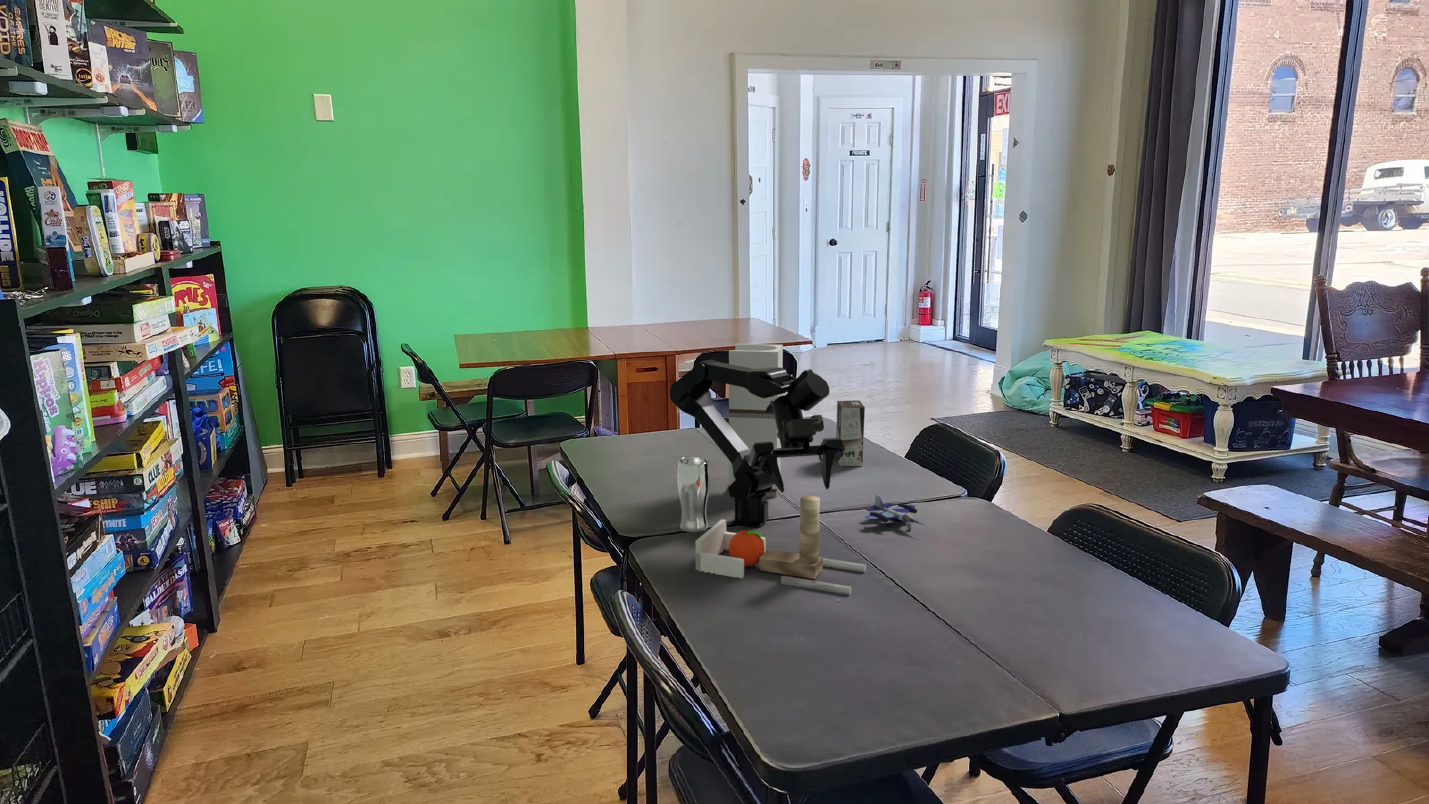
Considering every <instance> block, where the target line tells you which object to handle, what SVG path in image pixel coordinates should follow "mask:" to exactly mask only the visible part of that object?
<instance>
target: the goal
mask: <svg viewBox="0 0 1429 804" xmlns="http://www.w3.org/2000/svg"><path fill="white" fill-rule="evenodd" d="M737 533H738V532H730V531H727V519H722V518H721V519H720V520H719V521H718V522H717V523H715V524H714V525H713V526H712V527H710V528H709V529H707V531H706V532H704V533H703V534H702V535H701V536H700V537H698V538H697V539H696V540H695V542H694V543H695V546H694V547H695V571H696V570H699V571H698V572H701V571H704V572H703V573H707V572H710V573H709V574H713V573H715V574H714V575H720V576H726V577H731V578H737V577H738V578H739V579H744V576H745V566H744V559H741V558H735V557H731V556H730V555H721V553H723V552H724V551H729V543H730V541H731V539H732V537H733V536H734V535H735V534H737ZM760 537H761V538H762V540H763V542H764V548H765V550H764V553H765V552H766V549H767V548H766V547H767V546H766V545H767V539H766V538H767V537H766V536H765V537H766V538H765V537H763V536H760ZM724 549H725V550H724ZM720 552H721V553H720ZM719 553H720V554H719ZM718 554H719V555H718Z"/></svg>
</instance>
